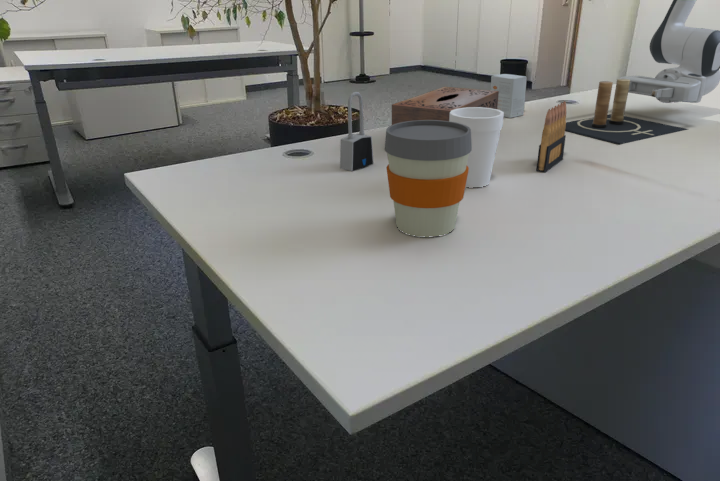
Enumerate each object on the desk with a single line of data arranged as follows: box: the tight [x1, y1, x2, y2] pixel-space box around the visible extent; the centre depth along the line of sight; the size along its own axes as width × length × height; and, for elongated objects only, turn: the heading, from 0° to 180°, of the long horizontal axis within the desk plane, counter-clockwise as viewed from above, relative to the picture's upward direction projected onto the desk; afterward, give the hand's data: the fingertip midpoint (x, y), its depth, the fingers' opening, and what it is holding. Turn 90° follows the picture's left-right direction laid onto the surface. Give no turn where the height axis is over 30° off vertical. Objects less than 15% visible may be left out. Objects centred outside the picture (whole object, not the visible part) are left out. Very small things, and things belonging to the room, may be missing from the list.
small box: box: [490, 73, 528, 119], centre depth 151 cm, size 8×6×10 cm
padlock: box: [339, 91, 374, 172], centre depth 110 cm, size 7×4×15 cm, turn 138°
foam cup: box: [449, 107, 505, 189], centre depth 100 cm, size 10×9×13 cm
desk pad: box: [565, 113, 689, 146], centre depth 136 cm, size 22×24×1 cm
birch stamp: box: [609, 78, 630, 125], centre depth 138 cm, size 3×3×11 cm
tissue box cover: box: [391, 86, 499, 125], centre depth 128 cm, size 26×14×10 cm, turn 146°
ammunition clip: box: [535, 100, 567, 173], centre depth 108 cm, size 11×2×12 cm, turn 144°
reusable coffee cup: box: [384, 120, 472, 237], centre depth 81 cm, size 13×13×15 cm
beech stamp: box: [592, 80, 614, 128], centre depth 135 cm, size 3×3×11 cm
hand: (637, 91), depth 139 cm, fingers open, 8 cm apart
